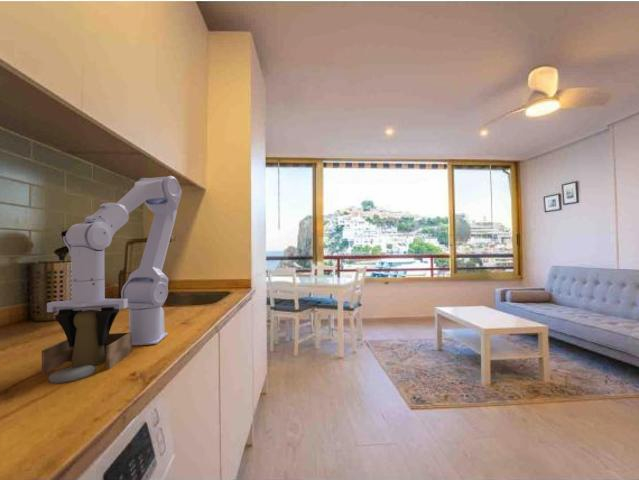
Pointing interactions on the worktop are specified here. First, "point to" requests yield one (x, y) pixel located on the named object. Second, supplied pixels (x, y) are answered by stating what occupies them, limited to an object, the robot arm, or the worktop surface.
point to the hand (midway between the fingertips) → (88, 344)
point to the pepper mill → (87, 340)
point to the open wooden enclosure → (61, 352)
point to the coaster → (71, 374)
